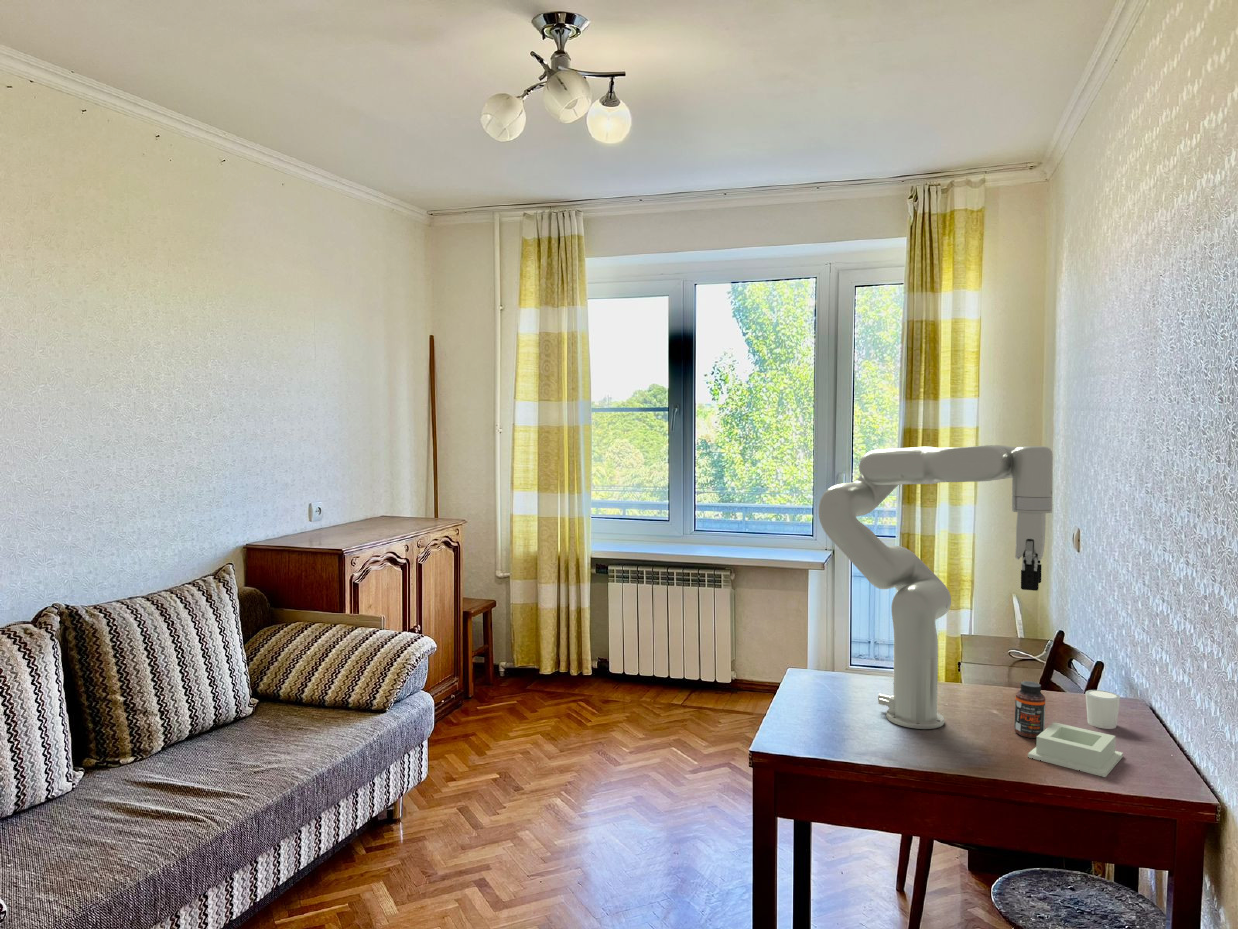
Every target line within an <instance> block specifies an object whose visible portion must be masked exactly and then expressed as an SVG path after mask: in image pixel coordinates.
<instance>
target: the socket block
mask: <svg viewBox="0 0 1238 929" xmlns="http://www.w3.org/2000/svg"><path fill="white" fill-rule="evenodd" d="M1028 757H1029V759H1032V758H1033V759H1032V760H1036V761H1040V760H1041V761H1040V762H1045V763H1048V764H1053V765H1057V766H1060V767H1064V768H1069V769H1070V770H1076V771H1079V770H1080V772H1083V773H1087V774H1090V775H1095V776H1100V777H1103V778H1106V777H1107V776H1109V773H1111V772H1112V770H1113V769H1114V768H1115V766H1117V764H1118V763H1119V762H1120V761H1121V760H1122V759H1123V758H1124V752H1122V751H1118V750H1116V735H1113V734H1108V733H1103V732H1099V731H1094V730H1090V729H1086V728H1081V727H1077V726H1073V725H1068V724H1064V723H1059V722H1052V723H1051V724H1049V725H1048V726H1047V727H1046V728H1044V731H1043V732H1041V733H1040V734H1039V735H1038V736H1037V738H1036V744H1035V747H1034V748H1033V749H1032V750H1030V751H1029V752H1028V753H1027V758H1028Z"/></svg>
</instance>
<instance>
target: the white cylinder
mask: <svg viewBox="0 0 1238 929" xmlns="http://www.w3.org/2000/svg"><path fill="white" fill-rule="evenodd" d="M1084 695H1085V703H1086V717H1087V718H1086V719H1087V724H1088V725H1090V726H1092V727H1096V728H1100V729H1107V730H1112V729H1116V728H1117V724H1118V723H1117V722H1118V718H1119V717H1118V716H1119V709H1120V702H1121V696H1120V695H1119V694H1117V693H1114V692H1111V691H1106V690H1099V689H1088V690H1086V691H1085V694H1084Z"/></svg>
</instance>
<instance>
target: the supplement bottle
mask: <svg viewBox="0 0 1238 929" xmlns="http://www.w3.org/2000/svg"><path fill="white" fill-rule="evenodd" d="M1014 702H1015V703H1014V732H1015V733H1016V734H1017V735H1019V736H1020V737H1021V736H1022V737H1025V738H1028V739H1029V738H1030V739H1037V736H1038V735H1039V734H1040V733H1041V732H1043V731H1044V730H1045V726H1046V724H1045V723H1046V720H1045V719H1046V696H1045V695H1044V694H1043V693H1042V685H1041V684H1040V683H1038V682H1035V681H1030V680H1029V681H1028V680H1027V681H1026V680H1025V681H1022V682H1020V690H1018V691H1016V694H1015V701H1014Z"/></svg>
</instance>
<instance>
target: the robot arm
mask: <svg viewBox="0 0 1238 929" xmlns="http://www.w3.org/2000/svg"><path fill="white" fill-rule="evenodd" d="M858 470H859V473H860V475H859V477H858V478H857V479H856V480H854V481H853V482H843V483H838V484H834V485H832V486H830V487H829V488H827V490H825V491H824V492H823V494H822V496H821V498H820V500H819V505H818V518H819V522H820V525H821V528H822V529H823V531H824V533H825V534H826V535H827V537H828V538H829V540H831V542H832V543H834V545H835V546H837V548H839V550H840V551H841V552H842V553H843V554H844V555H845V556H846V557H847V559H848V560H849V561H850V562H851V564H853V565H854V566H855V567H856V569H857V570H858V571H859V572H860V573H861V574H862V575H863V577H865V579H866V580H867V581H868V582H869V583H870V584H871V585H872V586H874V587H875V588H877V589H880V590H890V589H893V588H895V589H896V590H897V592H896V593H895V595H894V596H893V598H892V603H891V617H892V618H891V619H892V625H893V695H891V696H890V695H889V694H886V693H885V694H884V693H879V694H878V696H877V701H878V705H882V706H887V707H888V709H887V710H886V711H885V713H886V714H885V717H886V719H887V720H888V721H889V722H891V723H892V724H895V725H897V726H901V727H905V728H910V729H915V730H932V729H937V728H941V727H942V726H944V724H945V717H944V716H943V715H942V714H941V713H940V712H938V682H939V680H938V676H939V675H938V673H939V672H938V671H939V641H938V640H939V639H938V633H937V631H938V630H937V626H936V621H937V619H938V620H939V618H942V617H944V616H945V615H946V614H947V613H948V612H949V611H950V608H951V606H952V596H951V593H950V590H949V589H948V588H947V586H946V584H944V582H943V581H942V580H941V579H940V578H939V577H938V576H937V575H936V574H935V573H934V571H932V570H931V569H930V568H929V567H928V566H927V565H926V563H924V562H923V560H922V559H921V558H919V557H918V556H917V554H916V553H914V552H913V551H911V550H910V549H908V548H906V547H904V546H900V545H890V546H887V545H886V544H885V543H884V542H883V541H882V540H881V539H879V537H878V536H877V535H876V534H875V533H874V532H873V531H872V530H871V529H870V528H869V527H867V526H866V525H865V524H864V523H862V522H861V521H860V520H859V519H858V517H862V516H866V515H868V514H870V513H872V512H873V511H874V510H875V509H876V508H877V507H879V506H880V505H881V503H883V501H884V500H885V499H887V497H888V496H889V495H891V494H892V492H894V490H896V488H897V487H898V486H900V485H934V484H938V483H967V482H968V483H970V482H972V483H973V482H976V483H977V482H992V481H998V480H999V481H1000V480H1005V479H1007V480H1008V479H1011V480H1012V481H1011V482H1012V484H1011V485H1012V486H1011V490H1012V491H1011V495H1012V496H1011V498H1012V499H1011V505H1012V506H1011V512H1012V513H1017V515H1016V527H1015V555H1014V556H1015V559H1016V560H1020V559H1021V558H1022V564H1021V569H1020V589H1021V590H1023V591H1036V592H1037V591H1039V585H1040V584H1041V583H1042V564H1041V560H1042V559H1043V556H1044V552H1045V545H1046V544H1045V543H1046V521H1047V520H1046V519H1047V518H1046V516H1047V515H1046V514H1052V513H1053V451H1052V449H1051V448H1050V447H1048V446H1040V445H1038V446H1037V445H1031V446H1030V445H1028V446H1027V445H1024V446H1023V445H1022V446H1017V447H1016V446H1007V445H999V444H992V445H991V444H990V445H988V444H987V445H977V446H976V445H975V446H960V447H959V446H958V447H934V446H915V447H895V448H880V449H877V448H876V449H873V450H872V449H871V450H869V451H868V452H866V453H865V454H864V455H863V456H862V457H861V458H860V460H859V465H858Z"/></svg>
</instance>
